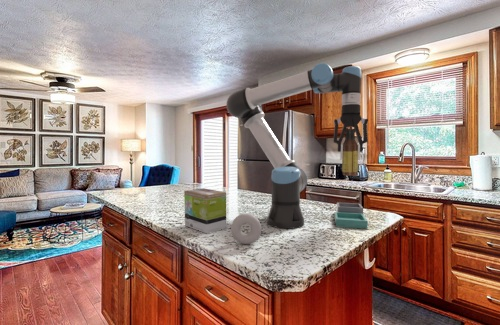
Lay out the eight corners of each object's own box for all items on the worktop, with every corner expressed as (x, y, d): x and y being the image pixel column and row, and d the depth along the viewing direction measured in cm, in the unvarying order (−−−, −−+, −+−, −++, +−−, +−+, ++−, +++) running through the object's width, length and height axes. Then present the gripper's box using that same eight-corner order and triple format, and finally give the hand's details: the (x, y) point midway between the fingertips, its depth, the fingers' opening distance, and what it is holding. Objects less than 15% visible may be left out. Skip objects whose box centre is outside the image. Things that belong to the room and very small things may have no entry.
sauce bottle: (354, 175, 115) (356, 129, 114) (359, 176, 109) (361, 128, 108) (339, 174, 115) (341, 129, 114) (343, 176, 109) (345, 128, 108)
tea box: (183, 226, 106) (183, 190, 105) (203, 221, 113) (203, 187, 113) (206, 234, 96) (206, 194, 95) (227, 228, 103) (227, 191, 102)
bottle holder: (337, 217, 119) (337, 206, 119) (336, 212, 129) (336, 202, 129) (363, 219, 116) (363, 208, 116) (359, 213, 127) (359, 203, 126)
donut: (230, 245, 84) (230, 214, 84) (231, 241, 87) (231, 212, 87) (261, 246, 83) (261, 215, 83) (261, 242, 87) (261, 212, 86)
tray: (336, 226, 105) (336, 219, 105) (334, 218, 117) (334, 212, 117) (367, 228, 102) (367, 221, 102) (362, 220, 114) (362, 213, 114)
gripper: (328, 104, 109) (326, 159, 110) (377, 102, 105) (375, 160, 106) (327, 107, 117) (325, 159, 118) (373, 105, 112) (371, 159, 113)
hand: (349, 159), depth 112 cm, fingers closed on sauce bottle, 6 cm apart
